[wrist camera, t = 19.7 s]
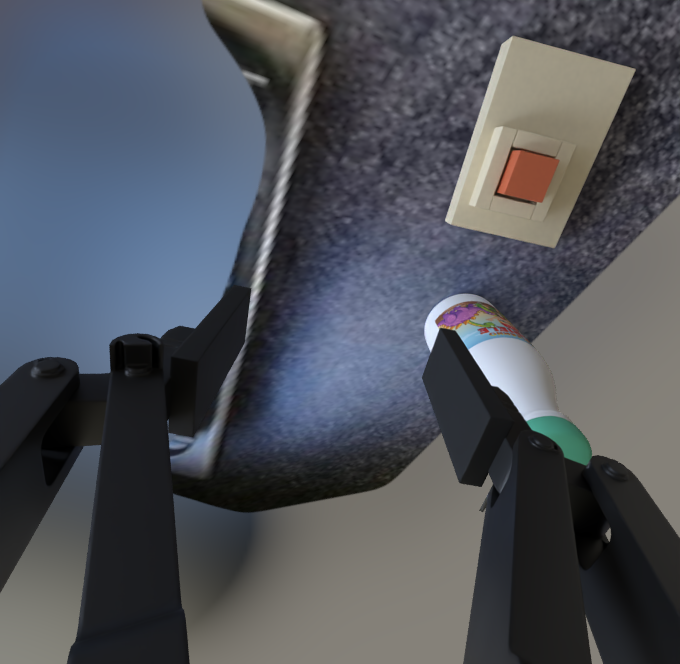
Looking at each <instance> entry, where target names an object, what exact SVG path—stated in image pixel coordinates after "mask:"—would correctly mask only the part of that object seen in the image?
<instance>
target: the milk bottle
mask: <svg viewBox="0 0 680 664" xmlns="http://www.w3.org/2000/svg"><path fill="white" fill-rule="evenodd" d="M440 327H441V328H446V329H451V330H455V331H456V332H457V333H458V335H459V336H460V338H461V339H462V341H463V342H464V344H465V346H466V347H467V349H468V350H469V352H470V353H471V355H472V356H473V358H474V359H475V361H476V363H477V364H478V366H479V367H480V369H481V370H482V372H483V373H484V375H485V376H486V378H487V379H488V381H489V383H490V384H491V386H496V387H499V388H500V389H501V390H502V391H504V392H505V393H506V394H507V395H508V396H509V397H510V399H511V400H512V402H513V403H514V405H515V406H516V407H517V409H518V410H519V412H520V413H521V415H522V416H523V417H524V419H525V420H526V422H527V423H528V425H529V426H530V428H531V429H532V430H533V431H536V432H539V433H542V434H544V435H545V436H547V437H549V438H551V439H552V440H553V441H555V442H556V443H557V444H558V445H559V446H560V447H561V449H562V451H563V453H564V457H565V458H568V459H570V460H573V461H576V462H578V463H581V464H583V465H587V464H588V462H589V461H590V459H591V458H592V450H591V447H590V444H589V442H588V440H587V439H586V437H585V436H584V435H583V434H582V432H581V431H580V430H579V429H578V428H577V427H576V426H575V425H574V424H573V422H572V421H571V420H570V419H569V418H568V417H567V416H566V415H564V414H562V413H560V411H559V409H558V405H557V398H556V387H555V383H554V379H553V376H552V373H551V371H550V369H549V367H548V365H547V363H546V362H545V360H544V359H543V357H542V356H541V355H540V353H539V352H538V351H537V350H536V349H535V348H534V347H533V345H532V344H531V343H530V342H529V341H528V340H527V339H526V338H525V337H524V336H523V335H522V334H521V333H520V332H519V331H518V330H517V329H516V328H515V327H514V326H513V325H512V324H511V323H510V322H509V321H508V320H507V319H506V318H505V317H504V316H503V315H502V314H501V313H500V312H499V311H498V310H497V309H496V308H495V307H494V306H493V305H492V304H491V303H490V302H488V301H487V300H486V299H484V298H482V297H480V296H478V295H474V294H458V295H454V296H451V297H448V298H446V299H444V300H443V301H441V302H440V303H439V304H437V305H436V306H435V307H434V308H433V310H432V311H431V312H430V314H429V316H428V318H427V320H426V324H425V338H426V341H427V344H428V347H429V349H430V351H432V348H433V345H434V342H435V340H436V337H437V334H438V331H439V328H440Z"/></svg>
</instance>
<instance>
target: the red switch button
mask: <svg viewBox="0 0 680 664" xmlns="http://www.w3.org/2000/svg"><path fill="white" fill-rule="evenodd" d="M559 161H560V160H558V159H554V158H550V157H546V156H542V155H538V154H534V153H530V152H526V151H522V150H516V151H511V154H510V156H509V159H508V162H507V165H506V167H505V170H504V173H503V175H502V178H501V181H500V184H499V186H498V189H497V193H501V194H505V195H509V196H513V197H518V198H522V199H526V200H530V201H535V202H539V203H542V202H543V199H544V197H545V195H546V192H547V190H548V187H549V185H550V183H551V180H552V178H553V175H554V173H555V171H556V168H557V166H558V163H559Z"/></svg>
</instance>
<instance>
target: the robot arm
mask: <svg viewBox="0 0 680 664" xmlns="http://www.w3.org/2000/svg"><path fill="white" fill-rule="evenodd" d="M250 294H251V288H246V287H242V286H237V285H233V287H232V288H231V289H230V290H229V291H228V292H227V293H226V294H225V296H224V297H223V298H222V299H221V300H220V301H219V302H218V303H217V305H216V306H215V307H214V308H213V309H212V310H211V311H210V312H209V314H208V315H207V316H206V317H205V318H204V319H203V320H202V322H201V323H200V324H199V325H198V326H197V327H196V328H195V329H194V328H189V327H184V326H178V327H175V328H173V329H170V330H168V331H167V332H166V333H165V334H164V335H163V336H162V337H161V338H160V339H159V338H157V337H155V336H152V335H149V334H138V333H137V334H127V335H123V336H120V337H117V338H116V339H114V340H112V342H111V343H110V345H109V346H110V367H111V372H110V373H105V374H79V367H78V365H77V363H76V362H74V361H72V360H70V359H66V358H60V357H55V358H54V357H47V358H40V359H37V360H34V361H31V362H28V363H26V364H24V365H23V366H21V367H20V368H18V369H17V370H16V371H15V372H14V373H13V374H12V375H11V376H10V377H9V378H8V379H7V380H5V382H3V383H2V384H1V385H0V592H1V591H2V589H3V587H4V585H5V584H6V582H7V580H8V578H9V577H10V575H11V573H12V571H13V570H14V568H15V566H16V564H17V563H18V561H19V559H20V557H21V556H22V554H23V552H24V550H25V549H26V547H27V545H28V543H29V541H30V540H31V538H32V536H33V535H34V533H35V531H36V529H37V528H38V526H39V524H40V522H41V521H42V518H43V517H44V515H45V514H46V512H47V510H48V508H49V507H50V505H51V503H52V501H53V500H54V498H55V496H56V494H57V492H58V491H59V489H60V487H61V485H62V484H63V482H64V480H65V478H66V477H67V475H68V473H69V471H70V469H71V468H72V466H73V464H74V463H75V461H76V459H77V457H78V456H79V454H80V452H81V450H82V449H83V446H91V445H101V451H100V459H99V467H98V475H97V482H96V491H95V498H94V506H93V514H92V522H91V530H90V538H89V545H88V553H87V561H86V569H85V577H84V586H83V593H82V600H81V608H80V617H79V624H78V631H77V637H76V641H75V643H74V644H73V645H72V646H71V649H70V652H69V656H68V661H67V664H190V663H189V653H188V652H189V651H188V640H187V629H186V619H185V613H184V610H183V609H182V604H181V594H180V581H179V569H178V555H177V543H176V528H175V516H174V502H173V489H172V476H171V463H170V450H169V437H168V433H173V434H178V435H184V436H190V437H193V436H194V434H195V433H196V431H197V429H198V427H199V425H200V423H201V422H202V420H203V418H204V416H205V414H206V413H207V411H208V409H209V407H210V405H211V403H212V402H213V400H214V398H215V396H216V394H217V392H218V391H219V389H220V387H221V385H222V383H223V381H224V380H225V378H226V376H227V374H228V372H229V371H230V369H231V367H232V365H233V363H234V361H235V360H236V358H237V356H238V354H239V352H240V350H241V349H242V347H243V345H244V343H245V335H246V327H247V319H248V311H249V303H250ZM422 379H423V382H424V385H425V387H426V390H427V393H428V396H429V399H430V401H431V404H432V407H433V410H434V413H435V416H436V418H437V421H438V424H439V427H440V430H441V432H442V435H443V438H444V441H445V444H446V447H447V449H448V452H449V455H450V458H451V461H452V463H453V466H454V469H455V472H456V475H457V478H458V480H459V483H462V484H467V485H473V486H479V487H482V485H483V483H484V481H485V479H486V477H487V475H488V473H489V475H490V477H491V479H492V482H493V486H492V487H491V490H490V492H489V493H488V495H487V497H486V499H485V501H484V503H483V505H482V507H481V509H480V511H481V512H483V511H484V509H485V508H486V512H485V519H484V526H483V533H482V539H481V546H480V553H479V560H478V567H477V574H476V580H475V588H474V594H473V602H472V608H471V615H470V622H469V628H468V635H467V642H466V649H465V656H464V663H463V664H592V662H591V654H590V647H589V639H588V632H587V624H586V617H587V620H588V622H589V625H590V628H591V631H592V634H593V636H594V639H595V642H596V645H597V648H598V650H599V653H600V656H601V659H602V661H603V664H680V538H679V537H678V535H677V534H676V532H675V531H674V529H673V528H672V527H671V525H670V524H669V522H668V521H667V519H666V518H665V517H664V515H663V514H662V512H661V511H660V510H659V508H658V507H657V505H656V504H655V502H654V501H653V499H652V498H651V497H650V495H649V494H648V492H647V491H646V489H645V488H644V487H643V485H642V484H641V482H640V481H639V480H638V478H637V477H636V476H635V475H634V474H633V473H632V472H631V471H630V470H629V469H627V468H626V467H625V466H624V465H623V464H621V463H618V461H616V460H613V459H609V458H607V457H604V456H599V455H597V456H592V458H591V459H590V461H589V462H588V464H587V465H583V464H581V463H578V462H576V461H573V460H570V459H568V458H565V457H564V453H563V451H562V449H561V447H560V446H559V445H558V444H557V443H556V442H555V441H553V440H552V439H551V438H549V437H547V436H545V435H544V434H542V433H539V432H536V431H533V430H532V429H531V428H530V426H529V425H528V423H527V422H526V420H525V419H524V417H523V416H522V415H521V413H520V412H519V410H518V409H517V407H516V406H515V405H514V403H513V402H512V400H511V399H510V397H509V396H508V395H507V394H506V393H505V392H504V391H502V390H501V389H500V388H499V387H496V386H491V384H490V383H489V381H488V379H487V378H486V376H485V375H484V373H483V372H482V370H481V369H480V367H479V366H478V364H477V363H476V361H475V359H474V358H473V356H472V355H471V353H470V352H469V350H468V349H467V347H466V346H465V344H464V342H463V341H462V339H461V338H460V336H459V335H458V333H457V332H456V331H455V330H451V329H446V328H441V327H440V328H439V331H438V334H437V337H436V340H435V342H434V345H433V348H432V351H431V354H430V356H429V359H428V362H427V365H426V368H425V370H424V373H423V376H422ZM168 419H169V425H168V424H167V421H168ZM168 426H169V427H168ZM609 528H611V539H610V542H609V541H608V539H607V537H606V535H605V533H606V532H607V530H608V529H609ZM585 614H586V617H585Z"/></svg>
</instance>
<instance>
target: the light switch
mask: <svg viewBox="0 0 680 664" xmlns="http://www.w3.org/2000/svg"><path fill="white" fill-rule="evenodd" d="M635 70H636V69H633V68H630V67H626V66H622V65H619V64H615V63H611V62H608V61H604V60H600V59H597V58H593V57H589V56H586V55H582V54H578V53H575V52H571V51H567V50H564V49H560V48H556V47H553V46H549V45H545V44H542V43H538V42H534V41H531V40H527V39H523V38H520V37H516V36H512V37H511V38H509V39H508V40H507V41H505V42H504V43H503V44H502V45H501V48H500V51H499V55H498V58H497V61H496V64H495V67H494V70H493V73H492V76H491V79H490V83H489V86H488V89H487V92H486V95H485V98H484V101H483V104H482V107H481V111H480V114H479V117H478V120H477V123H476V126H475V129H474V132H473V135H472V139H471V142H470V145H469V148H468V151H467V154H466V157H465V160H464V163H463V167H462V170H461V173H460V176H459V179H458V182H457V185H456V188H455V191H454V195H453V198H452V201H451V204H450V207H449V210H448V213H447V216H446V219H445V221H446V222H448V223H449V224H451V225H455V226H459V227H463V228H468V229H472V230H477V231H481V232H485V233H490V234H494V235H498V236H503V237H507V238H512V239H516V240H520V241H525V242H529V243H534V244H538V245H542V246H547V247H551V248H555V247H556V244H557V242H558V240H559V238H560V236H561V233H562V231H563V229H564V227H565V225H566V222H567V220H568V218H569V216H570V214H571V211H572V209H573V207H574V205H575V203H576V200H577V198H578V196H579V194H580V192H581V189H582V187H583V185H584V183H585V180H586V178H587V176H588V174H589V172H590V169H591V167H592V165H593V163H594V161H595V158H596V156H597V154H598V152H599V150H600V147H601V145H602V143H603V141H604V139H605V136H606V134H607V132H608V130H609V128H610V125H611V123H612V121H613V119H614V117H615V114H616V112H617V110H618V108H619V105H620V103H621V101H622V99H623V97H624V94H625V92H626V90H627V88H628V86H629V83H630V81H631V79H632V77H633V75H634V72H635ZM516 150H522V151H526V152H530V153H534V154H538V155H542V156H546V157H550V158H554V159H558V160H560V161H559V163H558V166H557V168H556V171H555V173H554V175H553V178H552V180H551V183H550V185H549V187H548V190H547V192H546V195H545V197H544V199H543V202H542V203H539V202H535V201H530V200H526V199H522V198H518V197H513V196H509V195H505V194H501V193H497V189H498V186H499V184H500V181H501V178H502V175H503V173H504V170H505V167H506V165H507V162H508V159H509V156H510V154H511V151H516Z"/></svg>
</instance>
